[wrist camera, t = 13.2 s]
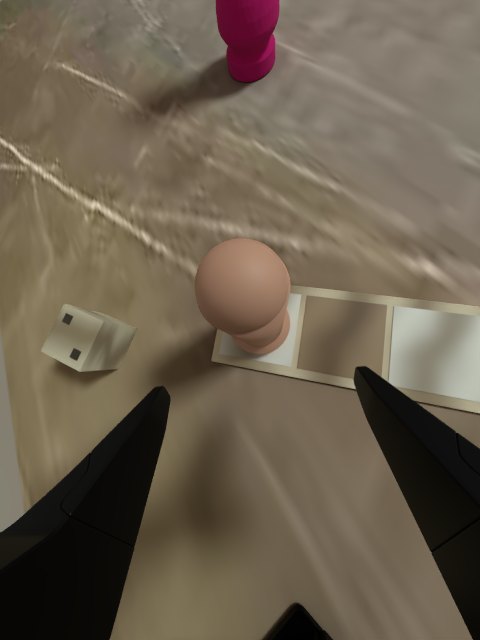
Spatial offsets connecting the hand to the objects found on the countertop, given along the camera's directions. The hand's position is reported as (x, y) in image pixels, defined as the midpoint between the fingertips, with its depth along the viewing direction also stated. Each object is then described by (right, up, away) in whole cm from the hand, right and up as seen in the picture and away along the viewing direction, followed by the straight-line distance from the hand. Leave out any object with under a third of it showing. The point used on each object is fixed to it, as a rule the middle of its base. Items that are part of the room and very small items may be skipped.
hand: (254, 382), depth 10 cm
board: (+9, +1, +11) cm, 14 cm away
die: (-16, 0, +15) cm, 22 cm away
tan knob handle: (+1, +2, +12) cm, 12 cm away
